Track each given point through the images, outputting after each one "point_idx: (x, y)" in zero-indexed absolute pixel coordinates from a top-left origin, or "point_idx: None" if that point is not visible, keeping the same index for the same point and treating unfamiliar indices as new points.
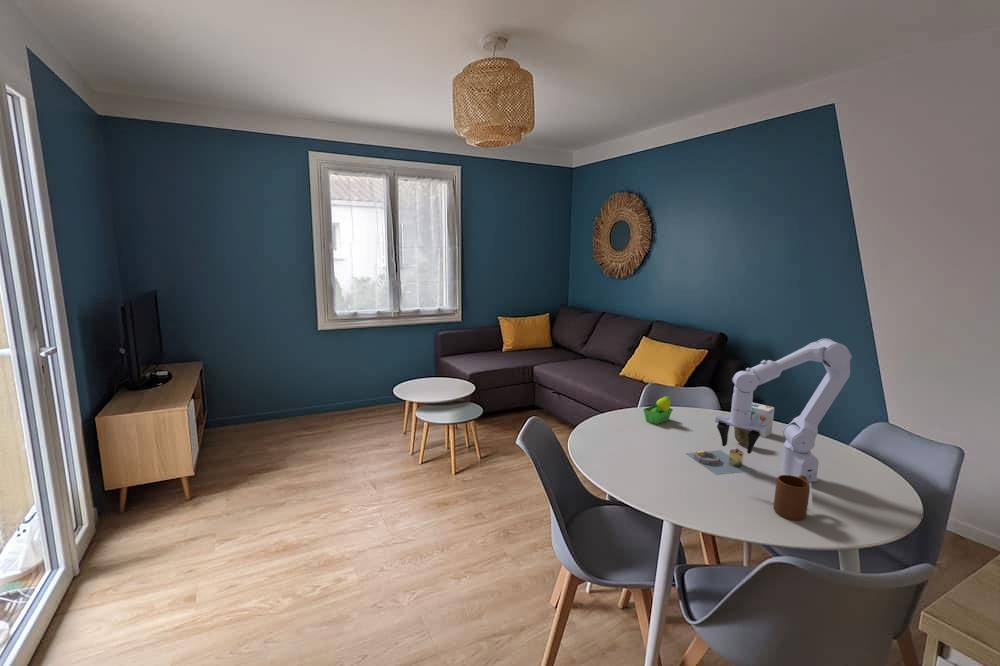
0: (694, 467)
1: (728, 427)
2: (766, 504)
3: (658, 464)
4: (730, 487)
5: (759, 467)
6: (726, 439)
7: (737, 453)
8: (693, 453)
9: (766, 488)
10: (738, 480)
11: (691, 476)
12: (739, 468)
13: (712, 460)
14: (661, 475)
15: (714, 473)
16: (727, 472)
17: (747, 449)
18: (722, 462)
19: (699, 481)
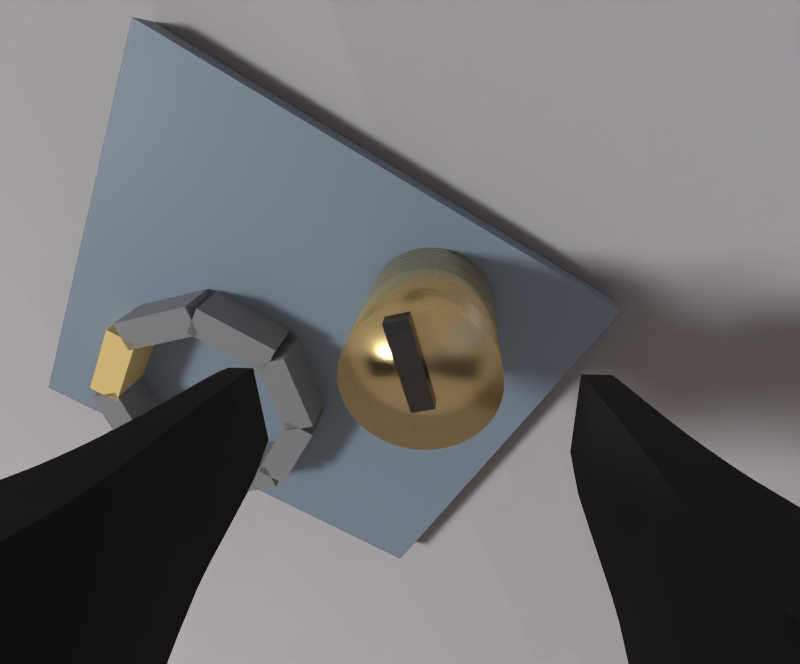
0: None
1: (27, 600)
2: None
3: None
4: (521, 592)
5: (634, 83)
6: (214, 444)
7: (447, 428)
8: (76, 340)
9: None
10: (533, 489)
11: (298, 595)
12: None
13: (286, 469)
14: (202, 654)
15: (383, 549)
16: (442, 488)
17: (583, 508)
18: (329, 344)
19: (359, 618)
